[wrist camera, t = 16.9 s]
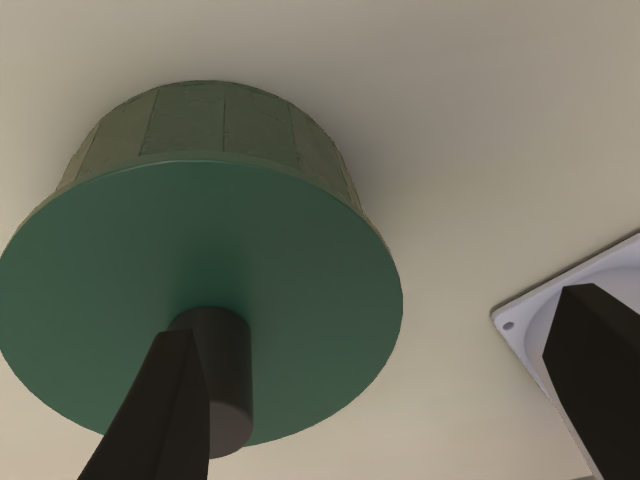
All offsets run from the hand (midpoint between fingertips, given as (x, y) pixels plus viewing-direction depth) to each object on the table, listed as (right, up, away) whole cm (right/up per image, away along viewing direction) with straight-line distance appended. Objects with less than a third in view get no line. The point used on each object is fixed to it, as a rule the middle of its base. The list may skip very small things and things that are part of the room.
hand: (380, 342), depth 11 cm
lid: (-4, 0, +5) cm, 7 cm away
